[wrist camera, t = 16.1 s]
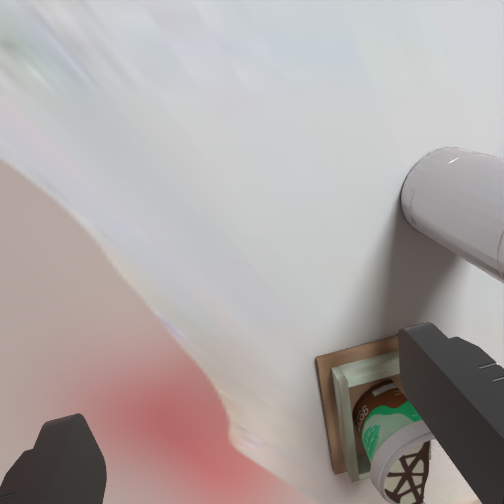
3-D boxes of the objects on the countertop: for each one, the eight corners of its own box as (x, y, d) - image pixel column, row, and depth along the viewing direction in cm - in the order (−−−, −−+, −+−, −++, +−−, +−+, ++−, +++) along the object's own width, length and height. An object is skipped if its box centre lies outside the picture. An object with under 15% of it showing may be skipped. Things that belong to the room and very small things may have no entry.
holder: (425, 328, 49) (442, 345, 46) (427, 442, 57) (441, 463, 54) (315, 357, 48) (325, 376, 45) (333, 469, 56) (342, 492, 53)
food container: (344, 378, 49) (381, 445, 40) (391, 369, 50) (438, 433, 41) (343, 450, 54) (376, 525, 45) (386, 441, 55) (427, 513, 46)
